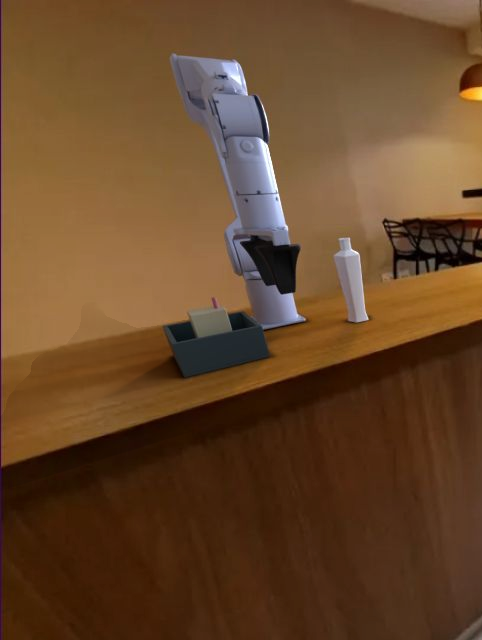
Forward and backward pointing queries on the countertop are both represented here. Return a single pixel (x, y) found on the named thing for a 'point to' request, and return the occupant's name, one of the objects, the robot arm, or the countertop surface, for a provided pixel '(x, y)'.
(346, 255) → the perfume bottle
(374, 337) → the countertop surface
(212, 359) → the bin
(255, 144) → the robot arm
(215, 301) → the juice carton
